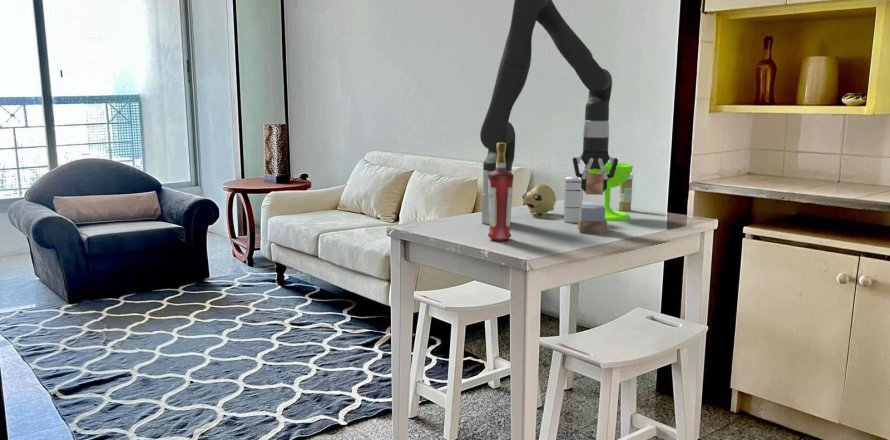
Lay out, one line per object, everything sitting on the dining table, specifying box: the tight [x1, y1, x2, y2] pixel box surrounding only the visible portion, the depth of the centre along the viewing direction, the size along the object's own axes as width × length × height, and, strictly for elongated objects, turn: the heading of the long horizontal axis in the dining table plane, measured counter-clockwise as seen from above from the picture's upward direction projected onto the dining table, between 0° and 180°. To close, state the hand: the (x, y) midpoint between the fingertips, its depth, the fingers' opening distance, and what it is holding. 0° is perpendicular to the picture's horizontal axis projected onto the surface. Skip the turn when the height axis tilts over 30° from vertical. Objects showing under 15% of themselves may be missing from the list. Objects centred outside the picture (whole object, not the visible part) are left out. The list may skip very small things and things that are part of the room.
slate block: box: [580, 203, 605, 222], centre depth 225 cm, size 7×7×4 cm
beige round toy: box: [521, 183, 557, 217], centre depth 253 cm, size 10×12×11 cm
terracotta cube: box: [584, 173, 604, 196], centre depth 223 cm, size 5×5×6 cm
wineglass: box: [584, 161, 634, 222], centre depth 249 cm, size 16×16×18 cm
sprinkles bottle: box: [617, 173, 634, 212], centre depth 262 cm, size 5×5×14 cm
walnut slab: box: [577, 217, 608, 235], centre depth 226 cm, size 8×8×4 cm
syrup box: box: [563, 176, 584, 224], centre depth 241 cm, size 6×6×14 cm
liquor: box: [487, 143, 515, 242], centre depth 210 cm, size 7×7×28 cm
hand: (593, 191), depth 223 cm, fingers closed on terracotta cube, 5 cm apart
